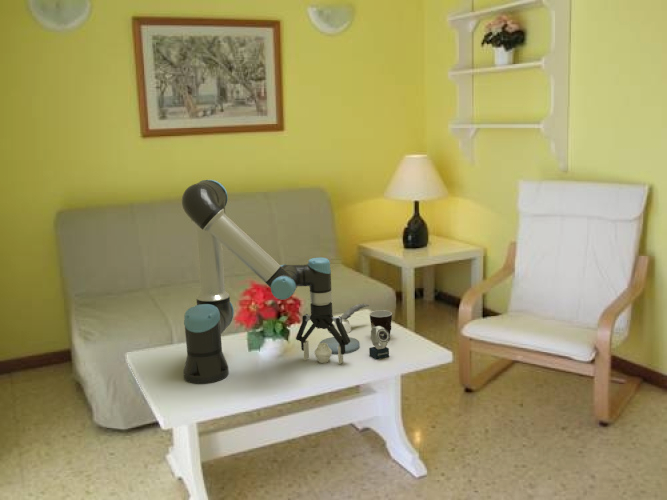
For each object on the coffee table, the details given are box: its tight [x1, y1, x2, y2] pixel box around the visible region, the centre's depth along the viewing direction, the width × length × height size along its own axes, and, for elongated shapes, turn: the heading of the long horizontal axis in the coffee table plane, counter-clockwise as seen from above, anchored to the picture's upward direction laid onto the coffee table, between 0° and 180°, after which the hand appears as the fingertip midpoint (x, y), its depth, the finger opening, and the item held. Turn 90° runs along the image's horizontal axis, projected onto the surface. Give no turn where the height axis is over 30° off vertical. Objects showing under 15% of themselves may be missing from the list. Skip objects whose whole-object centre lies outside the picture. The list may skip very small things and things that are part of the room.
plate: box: [318, 336, 361, 355], centre depth 259 cm, size 15×15×2 cm
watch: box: [368, 326, 391, 361], centre depth 247 cm, size 6×8×11 cm
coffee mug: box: [369, 309, 393, 341], centre depth 264 cm, size 12×9×10 cm
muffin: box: [314, 342, 333, 364], centre depth 245 cm, size 6×6×7 cm
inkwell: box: [328, 303, 370, 335], centre depth 279 cm, size 9×18×10 cm, turn 115°
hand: (323, 361), depth 246 cm, fingers open, 12 cm apart
